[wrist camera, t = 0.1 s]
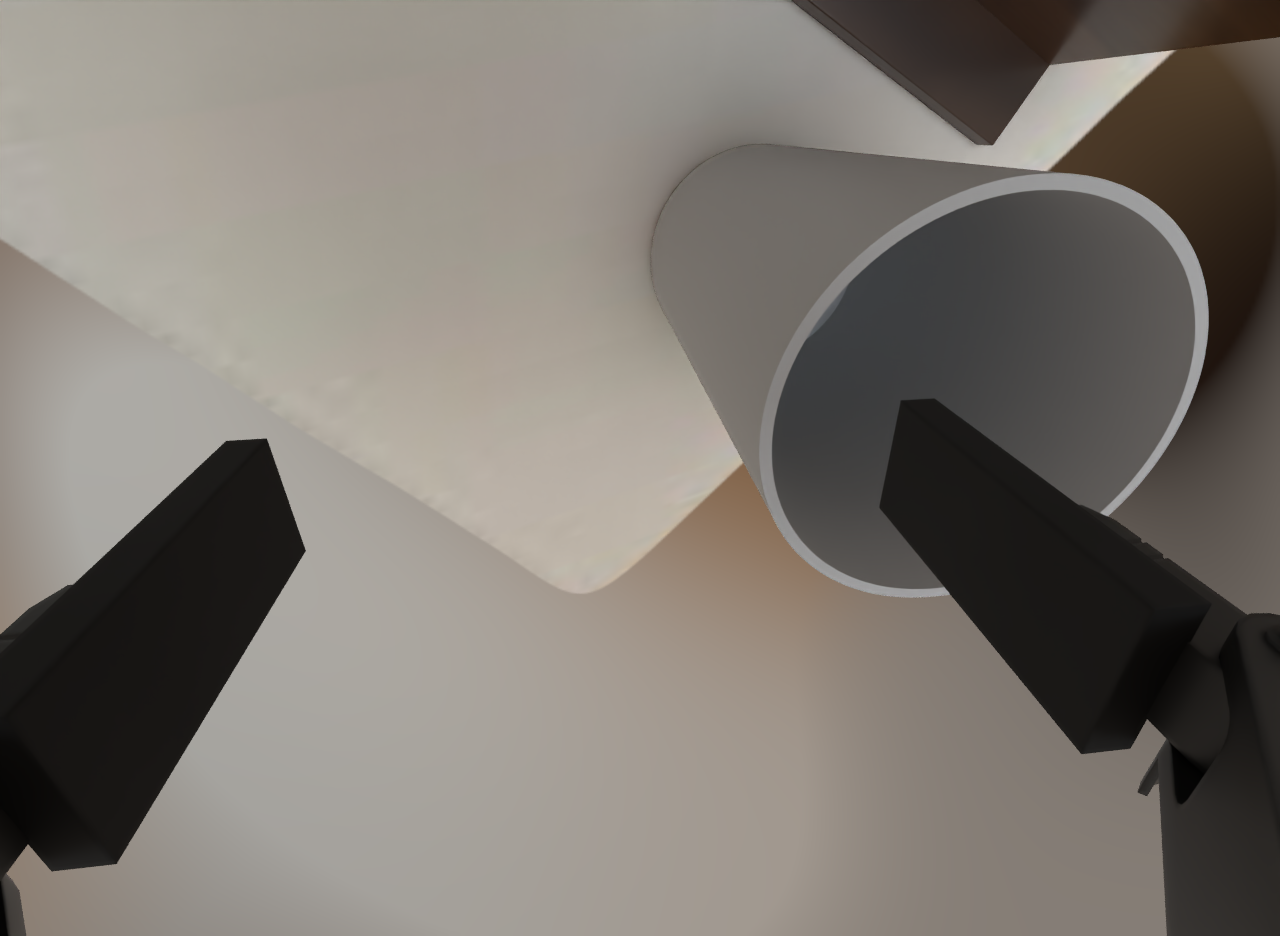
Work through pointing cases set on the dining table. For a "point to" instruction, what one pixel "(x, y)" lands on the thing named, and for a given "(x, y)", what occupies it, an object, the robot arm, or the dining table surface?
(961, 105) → the wooden shelf
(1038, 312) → the cylinder vase
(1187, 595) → the robot arm
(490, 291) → the dining table surface
